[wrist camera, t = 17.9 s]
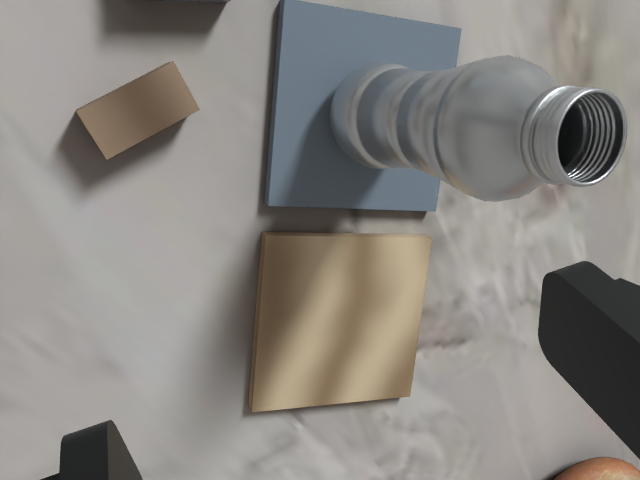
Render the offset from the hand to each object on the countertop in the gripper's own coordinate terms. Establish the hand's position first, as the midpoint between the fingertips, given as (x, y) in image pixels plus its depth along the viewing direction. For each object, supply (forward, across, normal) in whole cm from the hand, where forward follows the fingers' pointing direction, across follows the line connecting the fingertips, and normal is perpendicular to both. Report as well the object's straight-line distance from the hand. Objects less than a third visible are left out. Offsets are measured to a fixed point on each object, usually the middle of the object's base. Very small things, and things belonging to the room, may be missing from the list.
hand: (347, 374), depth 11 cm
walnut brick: (+30, +3, +4) cm, 30 cm away
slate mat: (+30, -11, +8) cm, 33 cm away
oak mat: (+26, -6, +22) cm, 34 cm away
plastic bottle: (+29, -11, +8) cm, 32 cm away
